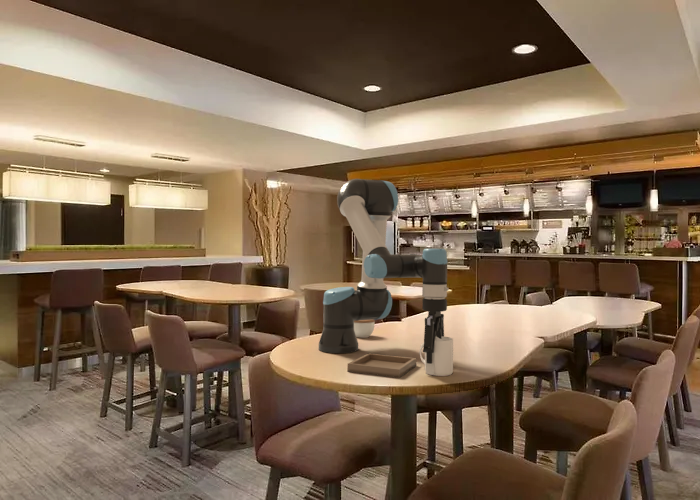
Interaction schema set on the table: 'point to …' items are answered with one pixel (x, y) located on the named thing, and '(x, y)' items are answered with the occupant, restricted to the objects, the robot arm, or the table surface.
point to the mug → (442, 356)
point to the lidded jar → (364, 328)
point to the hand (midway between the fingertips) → (434, 370)
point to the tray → (382, 365)
